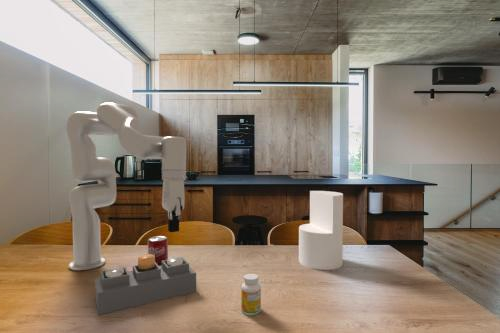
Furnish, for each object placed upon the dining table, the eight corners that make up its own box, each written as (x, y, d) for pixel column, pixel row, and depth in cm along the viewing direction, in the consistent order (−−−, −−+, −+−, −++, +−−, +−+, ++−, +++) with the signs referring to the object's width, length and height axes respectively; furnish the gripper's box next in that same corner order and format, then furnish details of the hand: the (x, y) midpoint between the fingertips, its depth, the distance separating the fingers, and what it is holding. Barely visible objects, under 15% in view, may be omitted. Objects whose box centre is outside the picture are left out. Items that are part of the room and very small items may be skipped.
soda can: (162, 273, 110) (161, 241, 109) (144, 272, 111) (143, 240, 111) (171, 266, 117) (171, 236, 116) (154, 265, 118) (153, 235, 118)
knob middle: (136, 265, 94) (136, 255, 94) (152, 262, 97) (152, 253, 97) (139, 270, 90) (139, 260, 90) (156, 267, 92) (156, 257, 92)
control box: (95, 297, 92) (94, 269, 91) (184, 278, 106) (184, 254, 105) (97, 315, 81) (97, 284, 81) (196, 291, 95) (196, 265, 95)
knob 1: (104, 279, 90) (104, 269, 90) (122, 275, 92) (122, 266, 92) (106, 285, 85) (106, 275, 85) (125, 281, 88) (125, 271, 88)
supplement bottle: (240, 306, 86) (240, 272, 86) (259, 305, 87) (259, 272, 86) (241, 316, 81) (241, 280, 80) (261, 315, 81) (261, 280, 81)
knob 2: (165, 267, 99) (165, 258, 99) (180, 265, 101) (180, 256, 101) (169, 272, 94) (169, 263, 94) (185, 269, 97) (184, 260, 97)
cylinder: (326, 253, 133) (327, 190, 132) (351, 266, 117) (352, 195, 116) (291, 257, 128) (291, 191, 127) (312, 272, 111) (312, 197, 110)
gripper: (156, 173, 101) (156, 227, 102) (168, 177, 88) (168, 238, 89) (178, 173, 105) (178, 225, 106) (193, 176, 92) (192, 235, 93)
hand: (173, 231), depth 98 cm, fingers closed
